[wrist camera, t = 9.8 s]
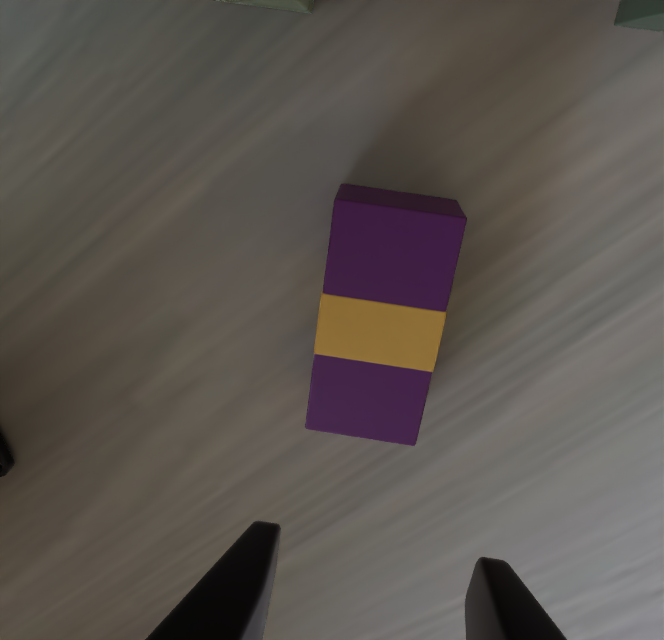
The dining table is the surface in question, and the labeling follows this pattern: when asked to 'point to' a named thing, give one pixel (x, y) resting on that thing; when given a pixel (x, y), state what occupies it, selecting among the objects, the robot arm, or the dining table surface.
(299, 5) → the cabinet
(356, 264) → the chocolate bar
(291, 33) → the dining table surface
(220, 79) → the dining table surface
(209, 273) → the dining table surface
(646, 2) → the drawer
